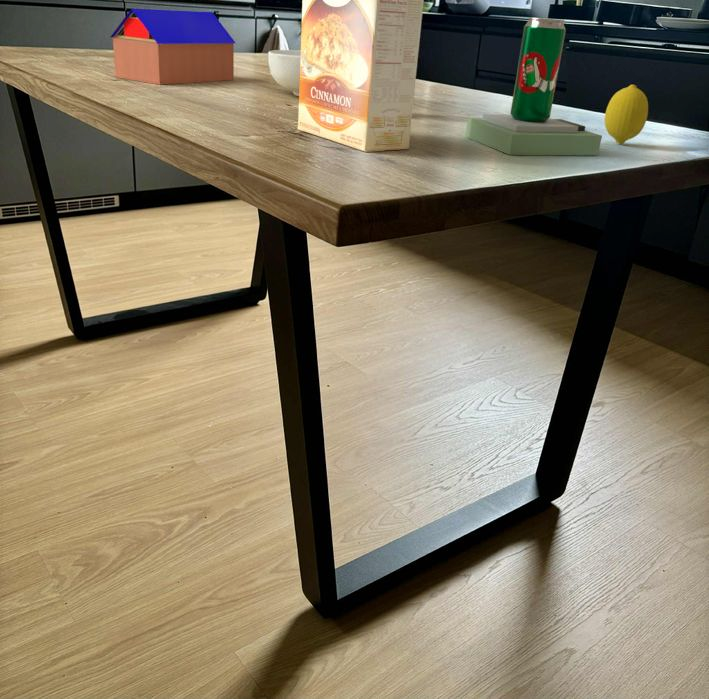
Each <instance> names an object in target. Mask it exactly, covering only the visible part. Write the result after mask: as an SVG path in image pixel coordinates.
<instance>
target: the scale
mask: <svg viewBox="0 0 709 699" xmlns="http://www.w3.org/2000/svg"><path fill="white" fill-rule="evenodd" d="M465 130H466V131H465V138H467V139H470V140H472V141H474V142H477V143H479V144H482V145H484V146H487V147H489V148H491V149H493V150H496V149H497V150H496V151H498V152H501V151H502V152H501V153H503V152H504V154H506V155H508V156H598V155H599V152H600V148H601V143H602V138H603V135H602V134H598V133H595V132H591V131H588V130H586V125H583V124H579V123H576V122H573V121H569V120H566V119H563V118H562V119H561V118H551V117H550V118H549V119H548V120H547V121H545V122H526V121H520V120H516V119H514V118H513V117H512V115H511V114H505V113H482V116H481V117H468V118H467V123H466V129H465Z"/></svg>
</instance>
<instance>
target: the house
mask: <svg viewBox="0 0 709 699" xmlns="http://www.w3.org/2000/svg"><path fill="white" fill-rule="evenodd" d="M110 38H112V46H113V48H112V49H113V59H114V60H113V61H114V74H115V76H114V77H115V78H118V79H124V80H130V81H136V82H143V83H148V84H154V85H159V86H161V85H174V84H175V85H176V84H189V83H204V82H205V83H207V82H220V81H221V82H222V81H223V82H224V81H234V79H235V78H234V76H235V75H234V74H235V72H234V69H235V68H234V66H235V65H234V63H235V62H234V60H235V59H234V55H235V54H234V53H235V52H234V51H235V50H234V49H235V48H234V46H235V45H234V44H236V41H235V40H234V38H233V37H232V36H231V35H230V33H229V32H228V30H227V29H226V28H225V27H224V26H223V24H222V23H221V22H220V20H219V19H218V18H217V16H216V15H215V14H214V13H213V11H196V10H195V11H194V10H193V11H192V10H172V9H171V10H169V9H168V10H167V9H151V8H150V9H146V8H130V10H129V11H128V12H127V14H126V15H125V17H124V18H123V19H122V20H121V22H120V23H119V25H118V26H117V27H116V28H115V30H114V31H113V32H112V34H111V36H110Z"/></svg>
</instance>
